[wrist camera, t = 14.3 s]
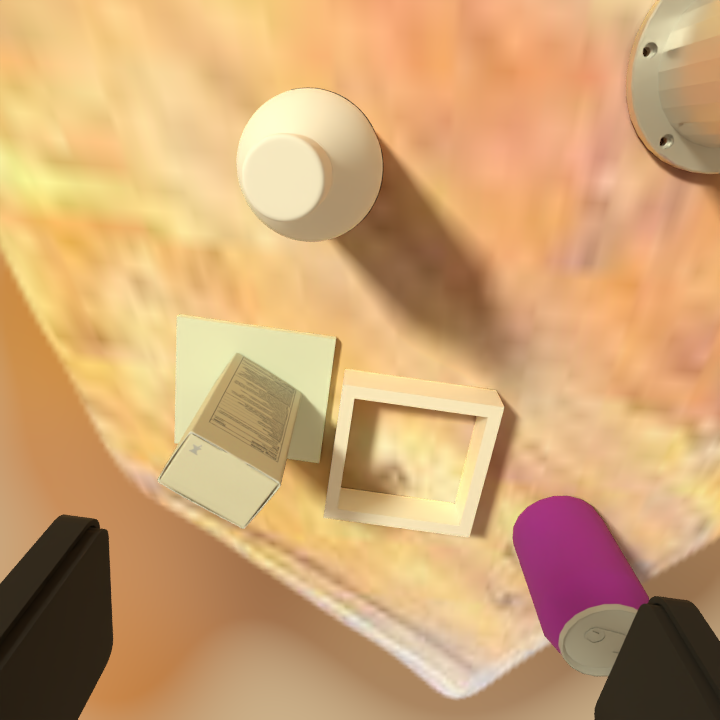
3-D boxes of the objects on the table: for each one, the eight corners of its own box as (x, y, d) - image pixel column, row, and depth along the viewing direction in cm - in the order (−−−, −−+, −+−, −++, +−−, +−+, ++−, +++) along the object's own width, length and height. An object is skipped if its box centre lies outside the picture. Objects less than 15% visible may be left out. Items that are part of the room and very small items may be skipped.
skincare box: (209, 390, 43) (148, 480, 32) (237, 349, 42) (184, 427, 30) (277, 433, 44) (243, 534, 33) (307, 394, 43) (282, 485, 32)
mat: (336, 336, 42) (335, 339, 41) (320, 459, 46) (319, 463, 45) (179, 314, 41) (176, 316, 41) (177, 439, 46) (174, 443, 45)
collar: (496, 390, 43) (504, 407, 40) (463, 514, 47) (469, 537, 45) (345, 368, 43) (342, 384, 40) (326, 495, 47) (323, 517, 44)
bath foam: (313, 231, 39) (254, 313, 20) (259, 139, 37) (138, 137, 18) (399, 180, 37) (421, 220, 19) (349, 82, 35) (317, 17, 17)
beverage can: (493, 542, 49) (527, 662, 37) (539, 476, 46) (590, 584, 35) (568, 572, 50) (623, 697, 38) (616, 509, 47) (691, 624, 36)
